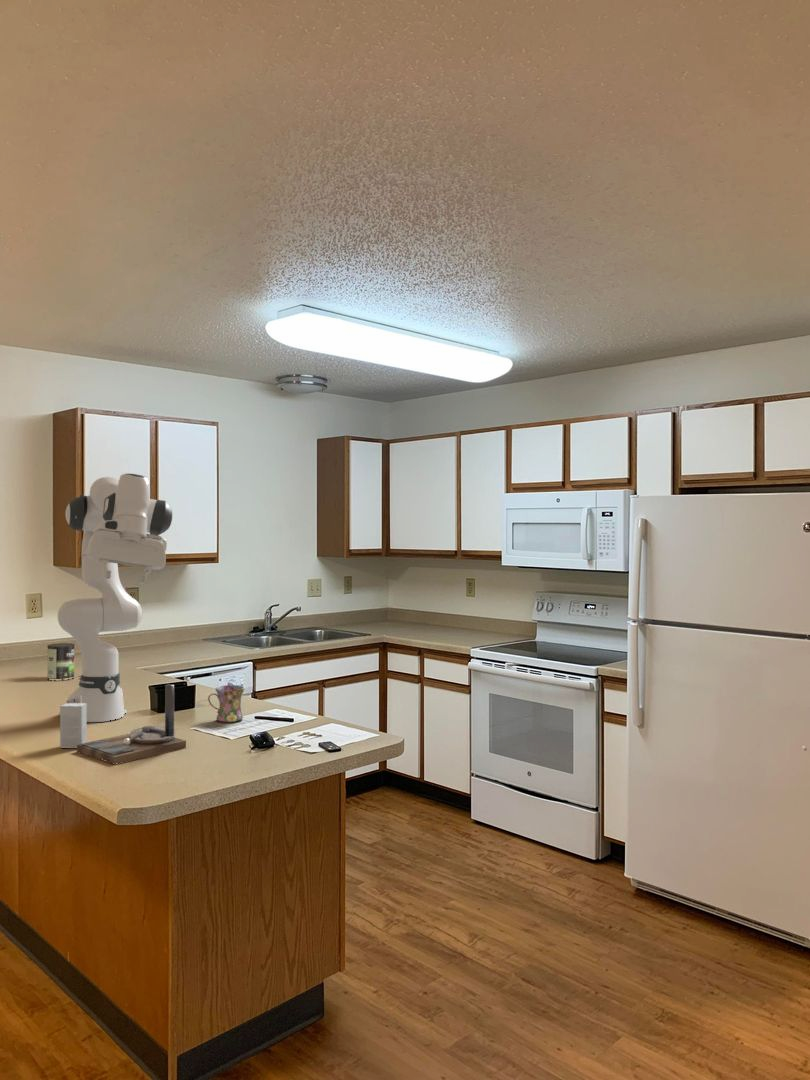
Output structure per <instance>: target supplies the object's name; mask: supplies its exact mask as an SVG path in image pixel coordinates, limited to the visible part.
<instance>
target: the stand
mask: <svg viewBox="0 0 810 1080" xmlns="http://www.w3.org/2000/svg"><path fill="white" fill-rule="evenodd" d="M125 738H128V739H130V738H131V732H130V733H126V734H122V735H117V736H112V737H107V738H102V739H98V740H93V741H87V743H82V744H77V749H76V752H77V753H79V752H80V753H79V754H82V753H84V754H83V755H85V754H87V755H86V756H88V755H90V756H89V757H91V756H93V757H92V758H94V757H96V758H95V759H97V758H99V759H98V760H100V759H103V760H106V761H108V762H112V763H114V764H116V763H120V764H122V763H121V762H124V763H127V762H126V761H129V762H132V761H131V760H133V761H135V760H136V759H137V760H141V759H144V758H149V757H153V755H154V756H156V755H157V754H158V755H162V754H166V753H169V751H170V752H174V751H178V750H177V749H179V750H182V749H181V748H183V749H186V748H187V740H185V739H181V738H179V737H178V738H177V737H175V738H174V739H173V740H170V741H167V742H162V743H154V744H140V743H134V742H132V741H130V744H128V745H124V743H123V740H124V739H125ZM173 750H174V751H173ZM165 752H166V753H165ZM161 753H162V754H161ZM158 755H157V756H158ZM148 756H149V757H148ZM140 758H141V759H140ZM137 760H136V761H137ZM108 762H107V763H108ZM114 764H113V765H114ZM116 765H117V764H116Z"/></svg>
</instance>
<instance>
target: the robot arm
mask: <svg viewBox="0 0 810 1080" xmlns="http://www.w3.org/2000/svg"><path fill="white" fill-rule="evenodd" d="M150 497H151V488H150V480H149V479H148V478H147V477H146V476H144V475H141V474H135V473H124V474H123V473H122V474H121V475H120V477H119V479H117V478H114V477H111V476H104V477H99V478H97V479H96V480H94V482H93V483H92V484H91V486H90V489H89V495H84V494H83V493H80V495H79V496H78V497H74V498H72V499H71V500H70V501H69V502H68V503H67V506H66V508H65V514H64V515H65V519H66V522H67V526H68V527H69V528H70V529H71V530H74V531H78V532H82V531H83V534H82V535H83V536H82V541H81V542H82V543H81V578H82V579H81V580H83V582H84V583H85V584H86V585H88V586H89V587H92V588H94V589H96V590H98V591H99V592H100V593H101V596H102V597H95V598H92V597H91V598H76V599H72V600H68V601H64V602H63V603H62V604H61V606H60V607H59V609H58V612H57V621H58V624H59V626H60V627H61V629H62V630H63V631H64V632H66V633H67V634H69V635H70V637H72V638H73V639H74V640H75V642H76V643H77V645H78V647H79V650H80V654H81V664H82V665H81V670H82V671H81V672H82V673H81V675H79V676H78V680H79V682H78V687H76V689H75V690H74V691H73V692H72V693H71V694H70V695H69V696H68V698H67V700H66V703H86V711H87V723H101V722H110V720H111V721H114V720H115V719H116V720H119V719H121V717H122V718H123V717H124V715H126V714H128V711H127V710H128V709H125V705H124V695H123V689H122V688H121V687H120V684H121V675H120V674H121V673H119V656H120V655H119V650H118V649H117V647H116V646H115V645H113V644H112V643H109V642H108V641H105V640H103V639H100V636H99V633H101V632H102V633H103V632H105V633H106V632H120V631H121V632H123V631H127V630H131V629H134V628H135V629H136V628H138V625H140V623H141V621H142V618H143V609H142V606H141V604H140V603H139V602H138V600H137V599H135V598H134V597H132V596H131V595H130V594H129V593H128V592H127V591H126V589H125V588H124V587H123V585H122V582H121V579H120V574H119V567H118V566H119V565H122V566H123V565H124V566H131V567H136V568H137V567H138V568H143V572H145V573H144V574H143V575H140V576H139V577H138V583H139V584H143V585H145V584H147V578H148V577H149V575H150V574H151V572H152V571H153V570H156V571H159V570H161V569H163V568H165V566H166V563H167V562H166V560H167V559H166V557H167V555H166V550H167V546H168V544H167V540H166V539H165V538H163V536H160V535H162V534H163V533H165V532H167V531H168V530H169V529H170V527H171V525H172V522H173V509H172V508H171V506H170V505H169V503H168V502H167V501H166V500H161V499H152V498H150ZM125 713H126V714H125ZM58 715H59V716H60V712H59V714H58Z"/></svg>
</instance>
